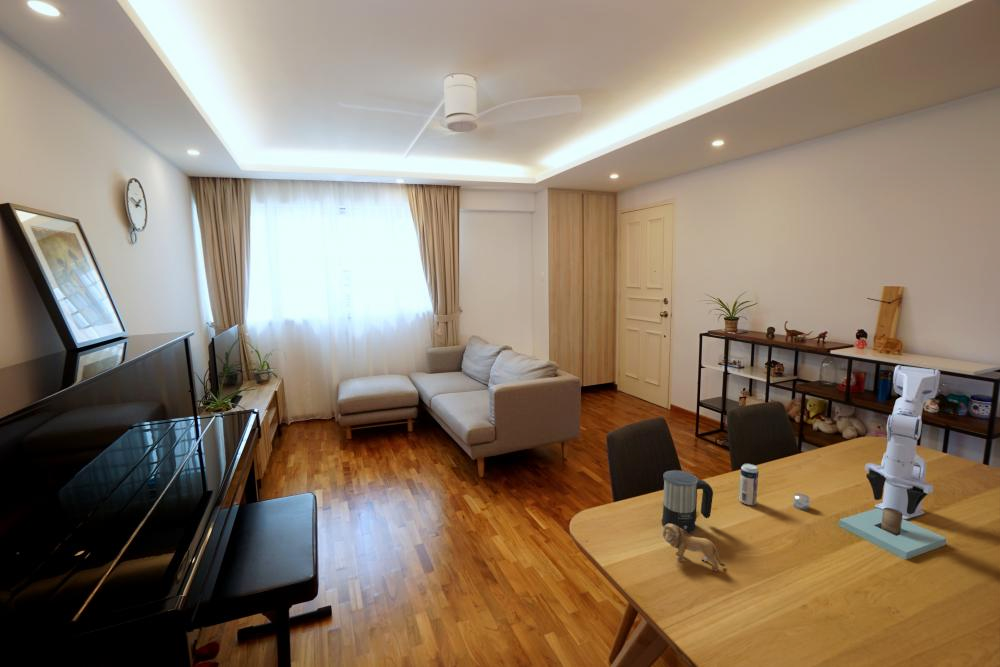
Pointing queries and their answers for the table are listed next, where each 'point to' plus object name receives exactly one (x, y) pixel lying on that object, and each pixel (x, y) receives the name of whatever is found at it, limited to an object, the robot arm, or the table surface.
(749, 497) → the beer can
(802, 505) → the grey round piece
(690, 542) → the lion figurine
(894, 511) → the walnut pin
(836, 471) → the table surface
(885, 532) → the hole board
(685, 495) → the milk frother
